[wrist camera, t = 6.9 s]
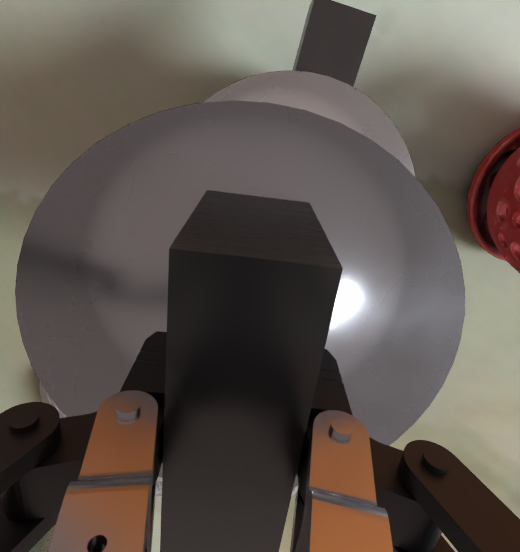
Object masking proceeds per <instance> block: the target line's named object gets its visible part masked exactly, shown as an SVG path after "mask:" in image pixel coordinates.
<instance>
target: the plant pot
mask: <svg viewBox="0 0 520 552" xmlns="http://www.w3.org/2000/svg"><path fill="white" fill-rule="evenodd" d="M467 216H468V222H469V225H470V228H471V231H472V233H473V235H474V237H475V239H476V240H477V242H478V243H479V245H480V246H481V247H482V248H483V249H484V250H486V251H487V252H488V253H490V254H491V255H493V256H495V257H497V258H499V259H502V260H505V261H507V262H508V263H509V264H510V265H511V266H512V267H513V268H515V269H516V270H517V271H518V272H519V273H520V128H519V129H517V130H515V131H514V132H512V133H510V134H509V135H508V136H506V137H505V138H504V139H503V140H502V141H500V142H499V143H498V144H497V145H496V146H495V147H494V148H493V149H492V150H491V151H490V152H489V154H488V155H487V156H486V157H485V159H484V160H483V161H482V163H481V164H480V166H479V168H478V170H477V171H476V173H475V175H474V178H473V180H472V183H471V186H470V189H469V194H468V199H467Z"/></svg>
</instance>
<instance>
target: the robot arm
mask: <svg viewBox="0 0 520 552" xmlns="http://www.w3.org/2000/svg"><path fill="white" fill-rule="evenodd" d="M166 339H167V332H161V331H156V332H155V333H153V334H152V335H151V336H149V337H148V338H147V339H145V342H144V344H143V346H142V348H141V350H140V352H139V354H138V356H137V358H136V361H135V362H134V364H133V366H132V368H131V370H130V372H129V374H128V376H127V378H126V380H125V382H124V384H123V386H122V388H121V390H120V392H119V393H116V394H114V395H112V396H110V397H108V398H107V399H106V400H104V401H103V402H102V404H101V405H100V407H99V409H98V411H96V412H93V413H89V414H84V415H78V416H71V417H64V418H60V415H59V412H58V410H57V409H56V408H55V407H54V406H52V405H50V404H48V403H43V402H30V403H24V404H20V405H17V406H14V407H12V408H10V409H8V410H6V411H4V412H3V413H1V414H0V552H28V551H29V550H30V549H31V548H32V547H33V546H34V545H35V544H36V543H37V542H38V541H39V540H40V539H41V538H42V537H43V536H44V535H45V534H46V533H47V532H48V531H49V530H50V529H51V528H52V527H53V526H54V525H55V524H56V525H55V529H54V532H53V535H52V538H51V542H50V545H49V548H48V551H47V552H151V546H152V533H153V520H154V508H155V495H156V481H157V479H158V476H159V472H160V469H161V465H162V462H163V440H164V407H165V373H166ZM296 475H297V476H298V490H297V494H296V499H295V508H294V518H293V528H292V538H291V548H290V552H455V551H454V550H453V549H452V548H451V547H450V545H449V544H448V543H447V542H446V540H445V539H444V538H443V537H442V535H441V534H442V532H443V534H444V535H445V536H446V537H447V538H448V540H449V541H450V542H451V543H452V545H453V546H454V547H455V548H456V549H457V551H458V552H520V519H519V518H518V517H517V516H516V515H515V514H514V513H513V512H512V511H511V510H510V509H509V508H508V507H507V506H506V505H505V504H504V503H503V502H501V501H500V500H499V499H498V498H497V497H496V496H495V495H494V494H493V493H492V492H491V491H490V490H489V489H488V488H487V487H486V486H485V485H484V484H483V483H482V482H481V481H480V480H479V479H478V478H477V477H476V476H475V475H474V474H473V473H472V472H471V471H470V470H469V469H468V468H467V467H466V466H465V465H464V464H463V463H462V462H461V461H460V460H459V459H458V458H457V457H456V456H454V455H453V454H452V453H451V452H450V451H448V450H447V449H445V448H444V447H442V446H440V445H438V444H436V443H433V442H430V441H425V440H416V441H412V442H410V443H408V444H407V445H406V447H405V449H404V451H402V450H399V449H396V448H393V447H390V446H388V445H385V444H382V443H380V442H378V441H376V440H374V439H372V438H371V437H369V433H368V431H367V429H366V427H365V426H364V425H363V424H362V422H361V421H359V420H358V419H357V418H355V417H354V416H353V415H352V411H351V408H350V404H349V401H348V398H347V394H346V391H345V388H344V384H343V383H342V378H341V374H340V373H339V367H338V364H337V361H336V359H335V358H334V357H333V356H332V355H331V353H330V352H329V351H328V350H327V349H324V354H323V358H322V363H321V367H320V371H319V376H318V380H317V385H316V389H315V393H314V398H313V402H312V407H311V411H310V415H309V420H308V424H307V429H306V433H305V437H304V442H303V446H302V451H301V455H300V459H299V464H298V468H297V473H296Z"/></svg>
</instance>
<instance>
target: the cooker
mask: <svg viewBox="0 0 520 552" xmlns="http://www.w3.org/2000/svg"><path fill="white" fill-rule="evenodd" d="M375 18H376V15H373V14H370V13H367V12H364V11H361V10H359V9H356V8H353V7H350V6H347V5H344V4H341V3H338V2H335V1H332V0H312V2H311V4H310V7H309V10H308V14H307V18H306V22H305V25H304V29H303V33H302V37H301V40H300V44H299V48H298V52H297V55H296V59H295V63H294V67H293V70H292V71H276V72H268V73H263V74H259V75H254V76H250V77H248V78H245V79H242V80H240V81H237V82H234V83H232V84H230V85H228V86H227V87H225V88H223V89H221V90H219V91H218V92H216V93H214V94H213V95H212V96H210V97H209V98H208V99H207V100H205V101H204V102H203V103H206V102H218V101H230V100H236V101H252V102H268V103H274V104H279V105H284V106H289V107H293V108H298V109H303V110H307V111H310V112H313V113H315V114H318V115H321V116H324V117H326V118H329V119H332V120H334V121H337V122H340V123H342V124H344V125H346V126H347V127H349V128H351V129H353V130H355V131H357V132H358V133H360V134H362V135H364V136H366V137H368V138H370V139H371V140H373V141H374V142H375V143H377V144H378V145H379V146H381V147H382V148H383V149H385V150H386V151H387V152H389V153H390V154H391V155H393V156H394V157H395V158H397V159H398V160H399V161H400V162H401V163H402V164H403V165H404V166H405V167H406V168H407V169H408V170H409V171H410V172H411V173H412V174H413V175H414V176H415V173H414V167H413V163H412V160H411V157H410V154H409V151H408V148H407V146H406V144H405V142H404V140H403V138H402V136H401V134H400V132H399V131H398V129H397V128H396V126H395V125H394V123H393V122H392V120H391V119H390V118H389V117H388V116H387V114H386V113H385V112H384V111H383V110H382V109H381V108H380V107H379V106H378V105H377V104H376V103H375V102H374V101H372V100H371V99H370V98H369V97H367V96H366V95H365V94H364V93H362V92H360V91H359V90H357V89H355V88H353V85H354V82H355V79H356V76H357V73H358V70H359V67H360V64H361V61H362V58H363V55H364V52H365V48H366V45H367V42H368V39H369V36H370V33H371V30H372V27H373V24H374V21H375Z"/></svg>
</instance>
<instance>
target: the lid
mask: <svg viewBox="0 0 520 552" xmlns="http://www.w3.org/2000/svg"><path fill="white" fill-rule="evenodd" d="M15 295H16V309H17V319H18V323H19V328H20V332H21V337H22V341H23V344H24V347H25V349H26V352H27V355H28V357H29V360H30V363H31V365H32V367H33V369H34V371H35V373H36V375H37V376H38V378H39V380H40V382H41V384H42V386H43V387H44V389H45V390H46V392H47V393H48V394H49V396H50V397H51V399H52V400H53V401H54V403H55V404H56V405H57V407H58V408H59V409H60V410H61V411H62V412H63V413H64V415H65V416H66V417H71V416H78V415H84V414H89V413H93V412H96V411H98V409H99V407H100V405H101V404H102V402H103V401H104V400H106V399H107V398H108V397H110V396H112V395H114V394H116V393H119V392H120V390H121V388H122V386H123V384H124V382H125V380H126V378H127V376H128V374H129V372H130V370H131V368H132V366H133V364H134V362H135V361H136V358H137V356H138V354H139V352H140V350H141V348H142V346H143V344H144V342H145V339H147V338H148V337H149V336H151V335H152V334H153V333H155V332H156V331H161V332H167V339H166V373H165V407H164V440H163V462H162V465H161V469H160V472H159V476H158V477H161V478H162V508H161V542H160V552H279V547H280V543H281V539H282V534H283V530H284V525H285V521H286V517H287V512H288V508H289V503H290V499H291V495H292V490H293V487H297V486H298V476H297V475H296V473H297V468H298V464H299V459H300V455H301V451H302V446H303V442H304V437H305V433H306V429H307V424H308V420H309V415H310V411H311V407H312V402H313V398H314V393H315V389H316V385H317V380H318V376H319V371H320V367H321V363H322V358H323V354H324V349H327V350H328V351H329V352H330V353H331V355H332V356H333V357H334V358H335V359H336V361H337V364H338V367H339V373H340V374H341V378H342V383H343V384H344V388H345V391H346V394H347V398H348V401H349V404H350V408H351V411H352V415H353V416H354V417H355V418H357V419H358V420H359V421H361V422H362V424H363V425H364V426H365V427H366V429H367V431H368V433H369V437H371V438H372V439H374V440H376V441H378V442H380V443H382V444H385V445H388V446H389V445H390V444H392V443H393V442H394V441H396V440H397V439H398V438H399V437H400V436H401V435H402V434H403V433H405V432H406V431H407V430H408V429H409V428H410V427H411V426H412V425H413V424H414V423H415V422H416V421H417V420H418V418H419V417H420V416H421V415H422V414H423V413H424V411H425V410H426V409H427V408H428V407H429V406H430V404H431V402H432V401H433V399H434V398H435V396H436V395H437V393H438V392H439V390H440V389H441V387H442V386H443V384H444V382H445V379H446V377H447V375H448V373H449V371H450V369H451V367H452V365H453V362H454V359H455V356H456V353H457V350H458V346H459V343H460V340H461V334H462V328H463V322H464V315H465V286H464V280H463V273H462V266H461V261H460V258H459V254H458V251H457V248H456V245H455V242H454V239H453V235H452V233H451V231H450V229H449V227H448V225H447V223H446V221H445V219H444V217H443V215H442V213H441V211H440V209H439V207H438V206H437V205H436V203H435V202H434V200H433V199H432V198H431V196H430V195H429V193H428V192H427V191H426V189H425V188H424V186H423V185H422V184H421V182H420V181H419V180H418V179H417V178H416V177H415V176H414V175H413V174H412V173H411V172H410V171H409V170H408V169H407V168H406V167H405V166H404V165H403V164H402V163H401V162H400V161H399V160H398V159H397V158H395V157H394V156H393V155H391V154H390V153H389V152H387V151H386V150H385V149H383V148H382V147H381V146H379V145H378V144H377V143H375V142H374V141H373V140H371V139H370V138H368V137H366V136H364V135H362V134H360V133H358V132H357V131H355V130H353V129H351V128H349V127H347V126H346V125H344V124H342V123H340V122H337V121H334V120H332V119H329V118H326V117H324V116H321V115H318V114H315V113H313V112H310V111H307V110H303V109H298V108H293V107H289V106H284V105H279V104H274V103H268V102H252V101H236V100H230V101H218V102H206V103H195V104H191V105H187V106H182V107H178V108H174V109H169V110H165V111H161V112H158V113H156V114H153V115H150V116H148V117H145V118H143V119H140V120H138V121H135V122H133V123H130V124H128V125H126V126H124V127H122V128H121V129H119V130H117V131H116V132H114V133H112V134H110V135H109V136H107V137H105V138H104V139H102V140H100V141H98V142H97V143H96V144H95V145H93V146H92V147H91V148H90V149H88V150H87V151H86V152H85V153H84V154H82V155H81V156H80V157H79V158H77V159H76V160H75V161H74V162H72V164H71V165H70V166H69V167H68V168H67V169H66V170H65V171H64V173H63V174H62V175H61V176H60V177H59V178H58V179H57V180H56V181H55V183H54V184H53V185H52V186H51V188H50V189H49V191H48V192H47V194H46V195H45V197H44V199H43V200H42V202H41V203H40V205H39V206H38V208H37V210H36V211H35V213H34V216H33V218H32V220H31V223H30V225H29V227H28V230H27V232H26V234H25V237H24V240H23V244H22V248H21V252H20V256H19V260H18V264H17V276H16V288H15Z"/></svg>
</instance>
